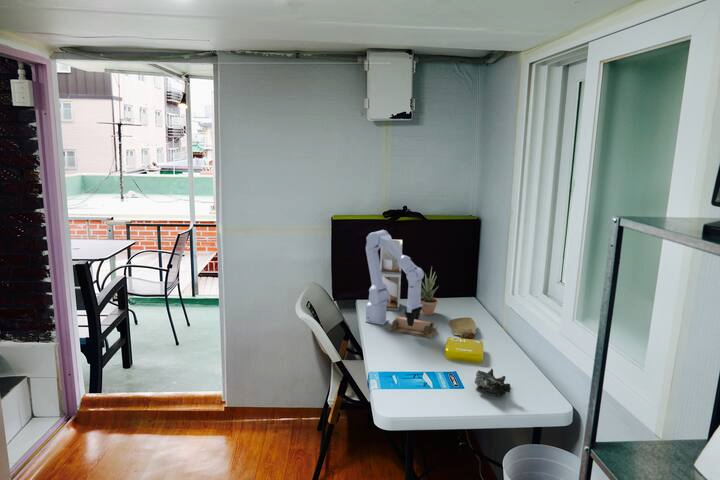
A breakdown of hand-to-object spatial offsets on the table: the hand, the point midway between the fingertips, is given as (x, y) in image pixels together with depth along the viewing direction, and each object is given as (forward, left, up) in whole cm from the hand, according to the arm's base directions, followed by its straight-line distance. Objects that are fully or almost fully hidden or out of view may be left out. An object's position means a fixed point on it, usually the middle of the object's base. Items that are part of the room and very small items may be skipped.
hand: (412, 322), depth 228 cm
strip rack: (0, 0, -4) cm, 4 cm away
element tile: (+27, -15, -4) cm, 31 cm away
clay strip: (0, 0, -3) cm, 3 cm away
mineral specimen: (+43, -41, -4) cm, 60 cm away
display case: (-22, +27, -4) cm, 35 cm away
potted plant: (0, +27, -4) cm, 27 cm away
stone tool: (+21, +11, -4) cm, 24 cm away
